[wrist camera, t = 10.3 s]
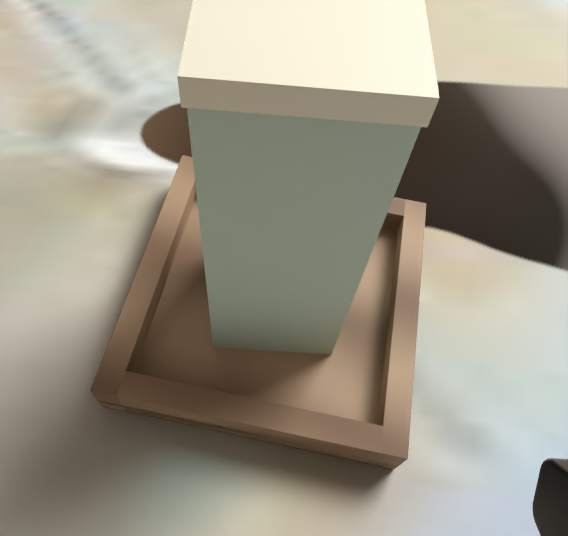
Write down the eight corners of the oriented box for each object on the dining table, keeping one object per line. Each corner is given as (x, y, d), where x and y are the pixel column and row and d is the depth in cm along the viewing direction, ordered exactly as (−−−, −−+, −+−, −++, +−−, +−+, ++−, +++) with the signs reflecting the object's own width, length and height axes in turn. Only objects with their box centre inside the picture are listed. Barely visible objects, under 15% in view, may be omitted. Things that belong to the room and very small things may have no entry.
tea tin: (333, 356, 23) (439, 97, 11) (210, 349, 23) (177, 76, 11) (332, 253, 26) (417, -49, 13) (222, 245, 25) (207, -69, 13)
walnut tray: (394, 469, 22) (407, 458, 20) (102, 405, 22) (90, 390, 20) (414, 227, 28) (426, 203, 26) (186, 181, 28) (182, 155, 26)
